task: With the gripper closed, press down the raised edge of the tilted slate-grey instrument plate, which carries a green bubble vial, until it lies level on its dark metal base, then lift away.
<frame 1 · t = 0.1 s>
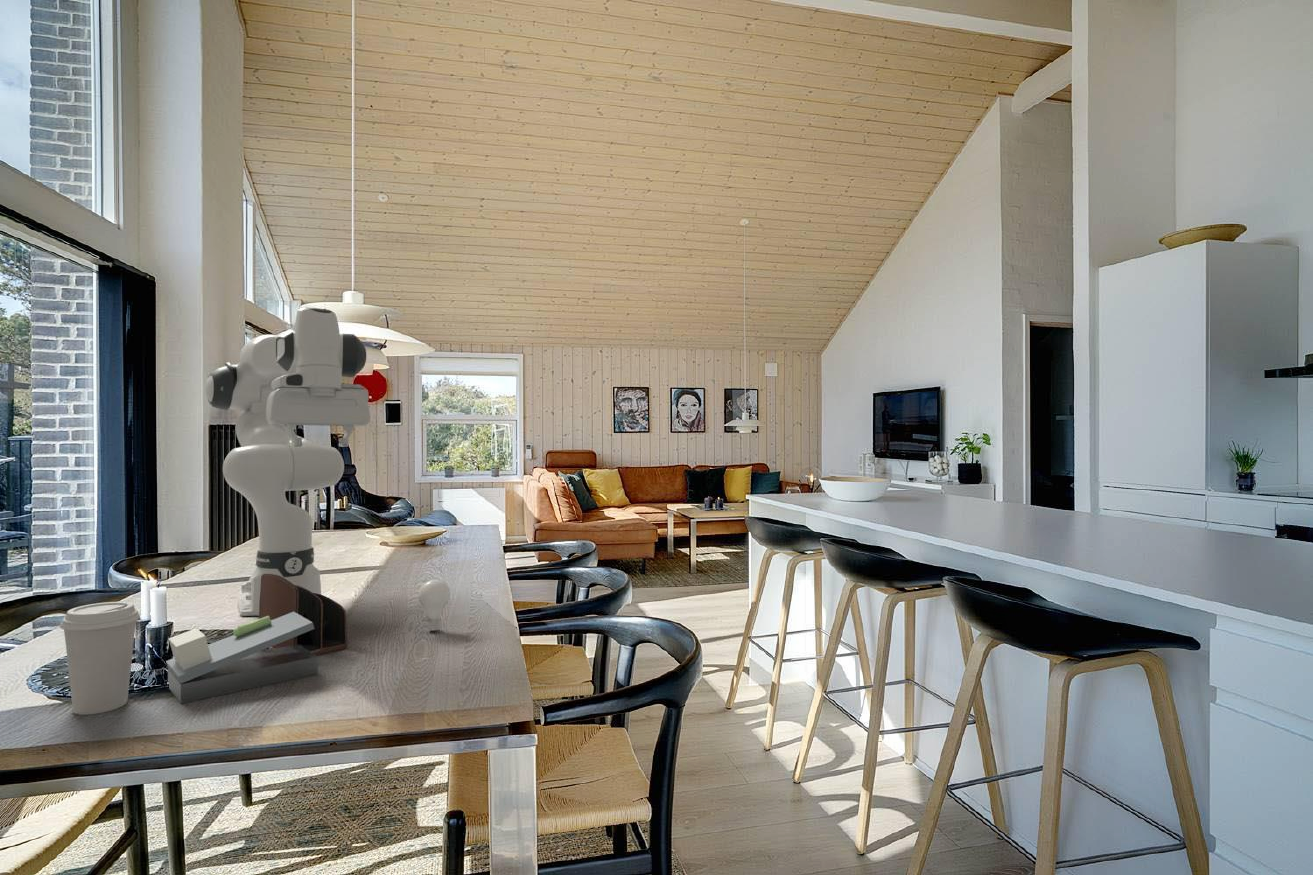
hand: (321, 446, 150), 39 cm above the table, tool pointing down, fingers open, 8 cm apart
coffee cup: (100, 707, 107), on the table
letter holder: (301, 645, 140), on the table
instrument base: (244, 680, 119), on the table
lightbulb: (434, 632, 149), on the table
level plate: (238, 633, 118), point 8 cm above the table, hinge at 14.0°
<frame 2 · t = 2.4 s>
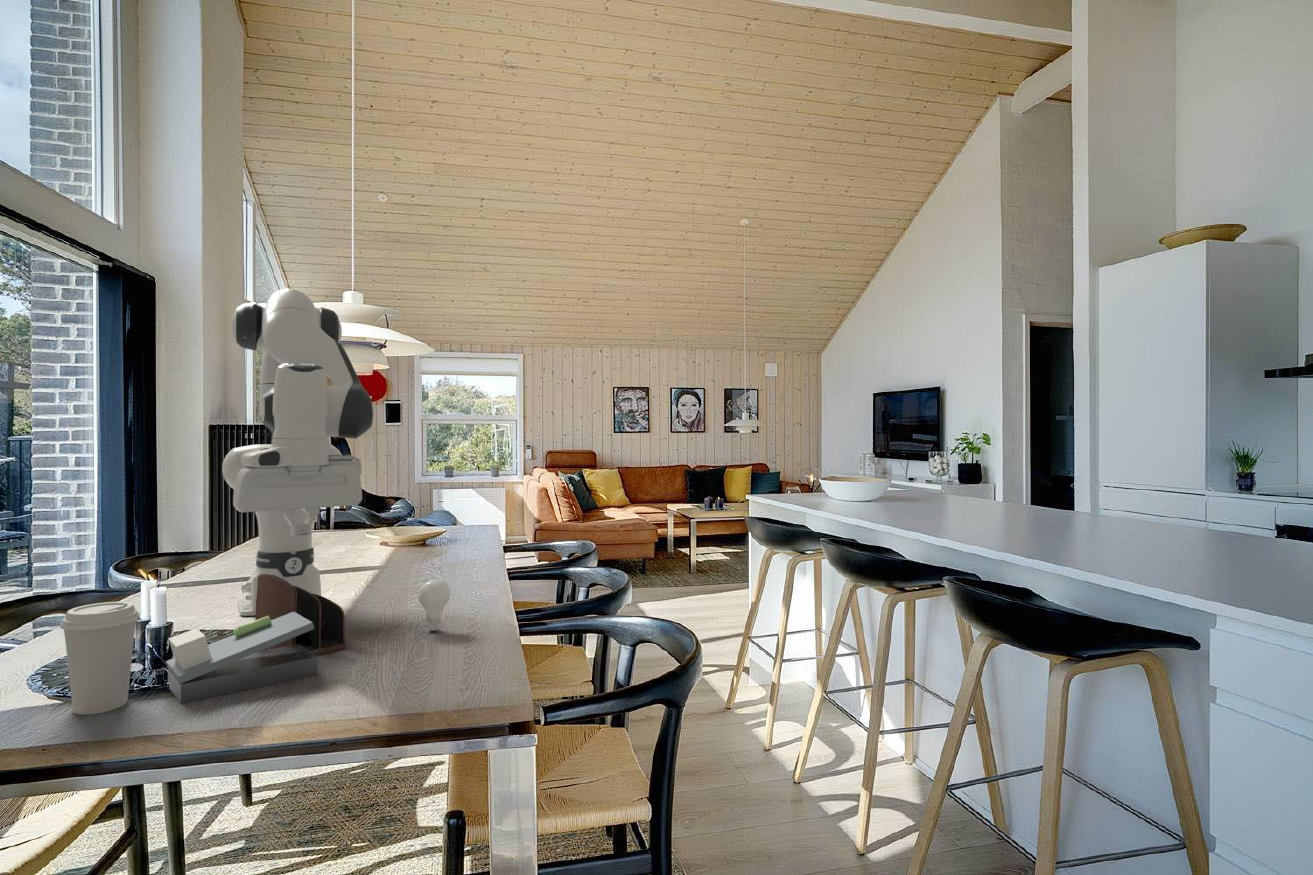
hand: (300, 534, 123), 24 cm above the table, tool pointing down, fingers closed
nothing on the table moved.
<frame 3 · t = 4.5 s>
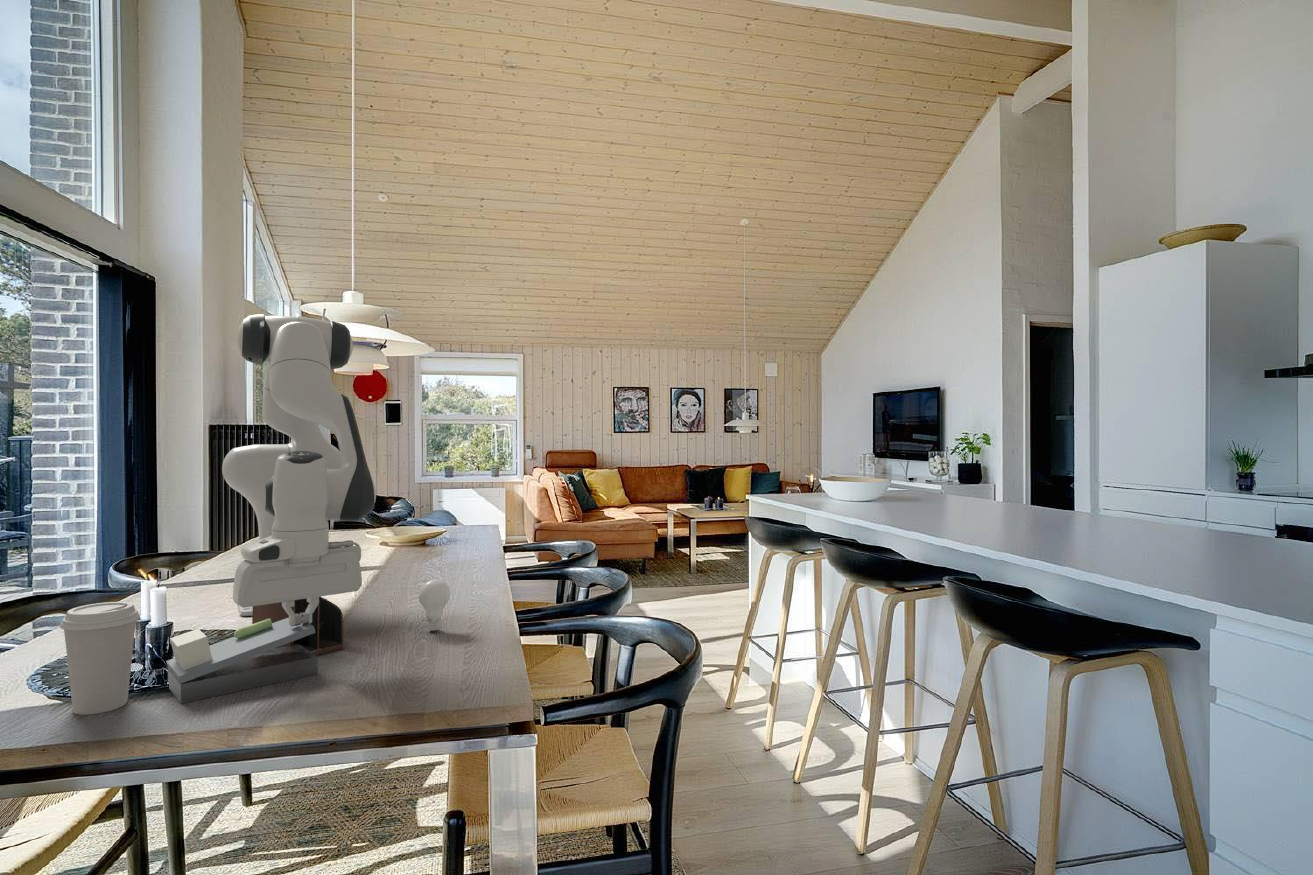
hand: (300, 624, 123), 8 cm above the table, tool pointing down, fingers closed
level plate: (240, 635, 118), point 8 cm above the table, hinge at 11.9°, touching gripper
everything else where it was.
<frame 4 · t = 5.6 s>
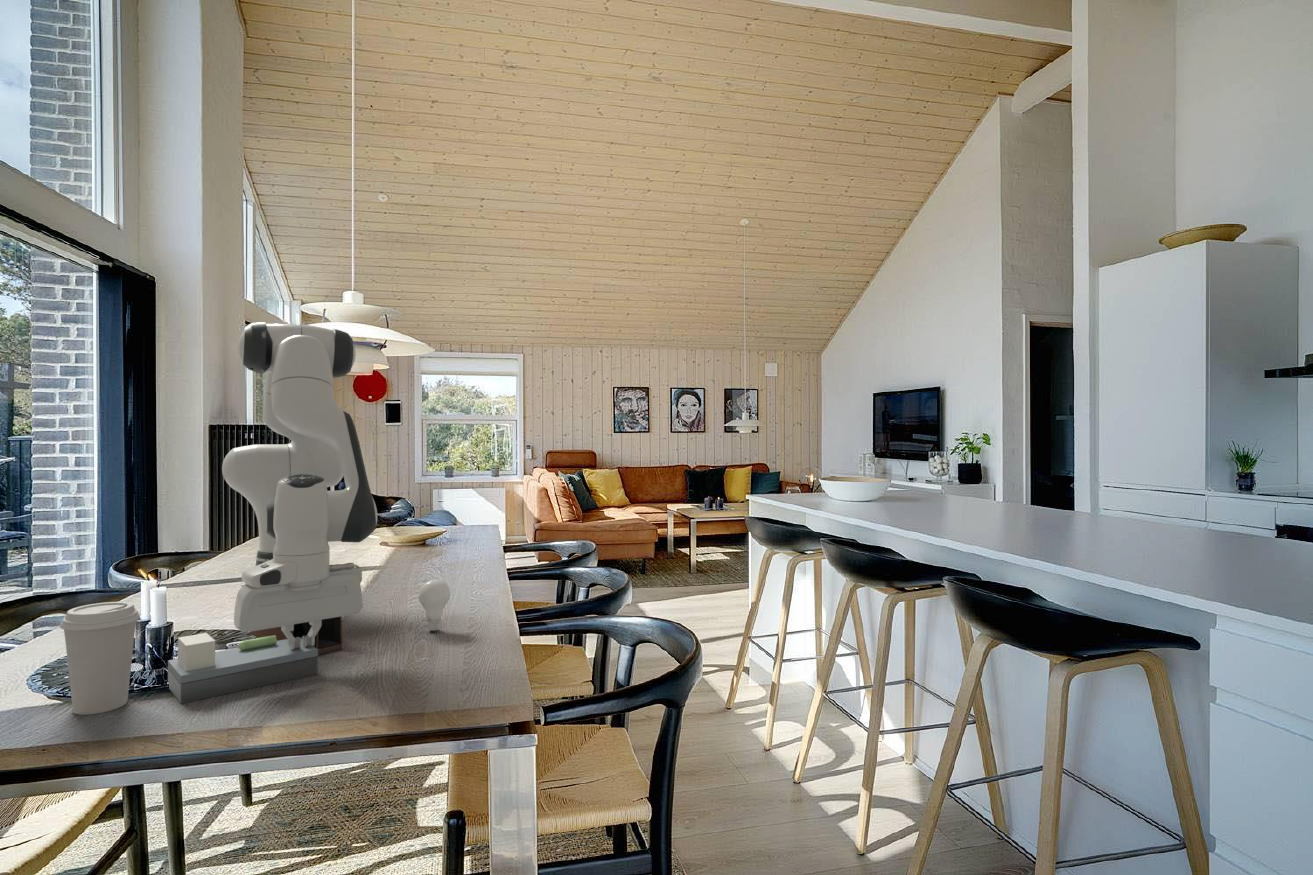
hand: (301, 647, 123), 4 cm above the table, tool pointing down, fingers closed, pressing on level plate
level plate: (245, 646, 119), point 6 cm above the table, hinge at 0.0°, touching gripper
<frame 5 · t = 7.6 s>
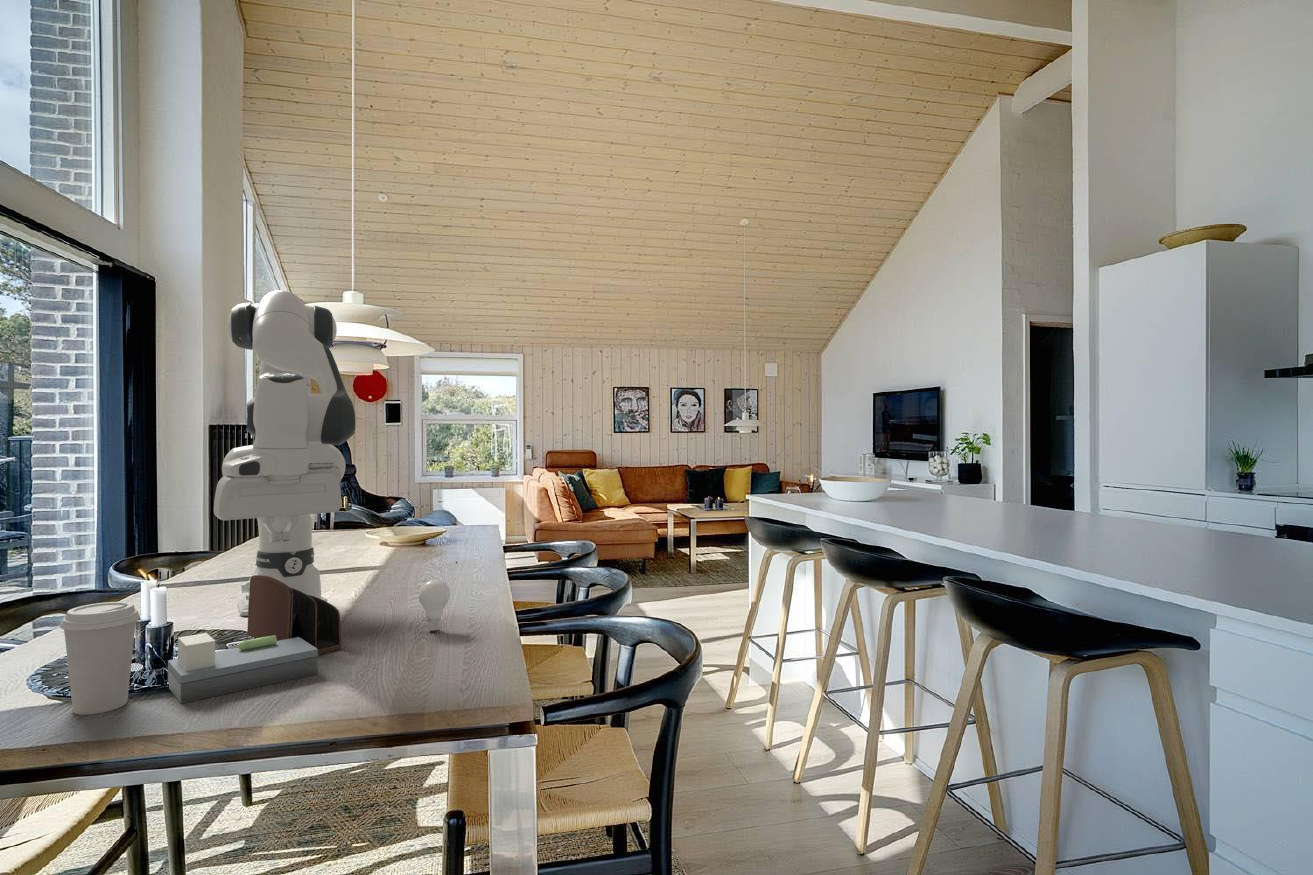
hand: (280, 541, 126), 22 cm above the table, tool pointing down, fingers closed
level plate: (245, 646, 119), point 6 cm above the table, hinge at 0.0°
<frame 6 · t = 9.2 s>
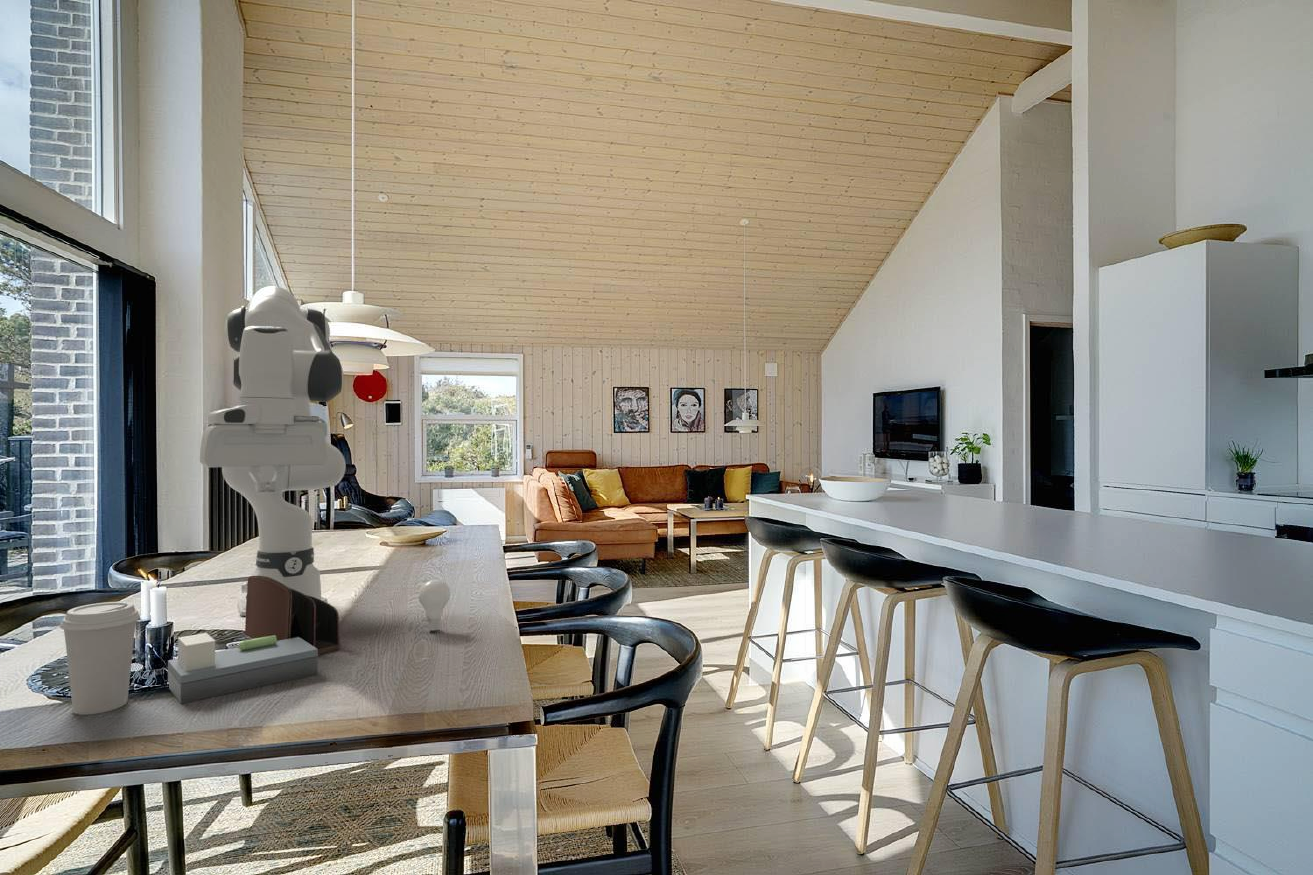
hand: (266, 491, 127), 31 cm above the table, tool pointing down, fingers closed
at the end: level plate at +0° (first picture: +14°); coffee cup moved 0.2 cm from its start; letter holder moved 2.1 cm from its start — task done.
